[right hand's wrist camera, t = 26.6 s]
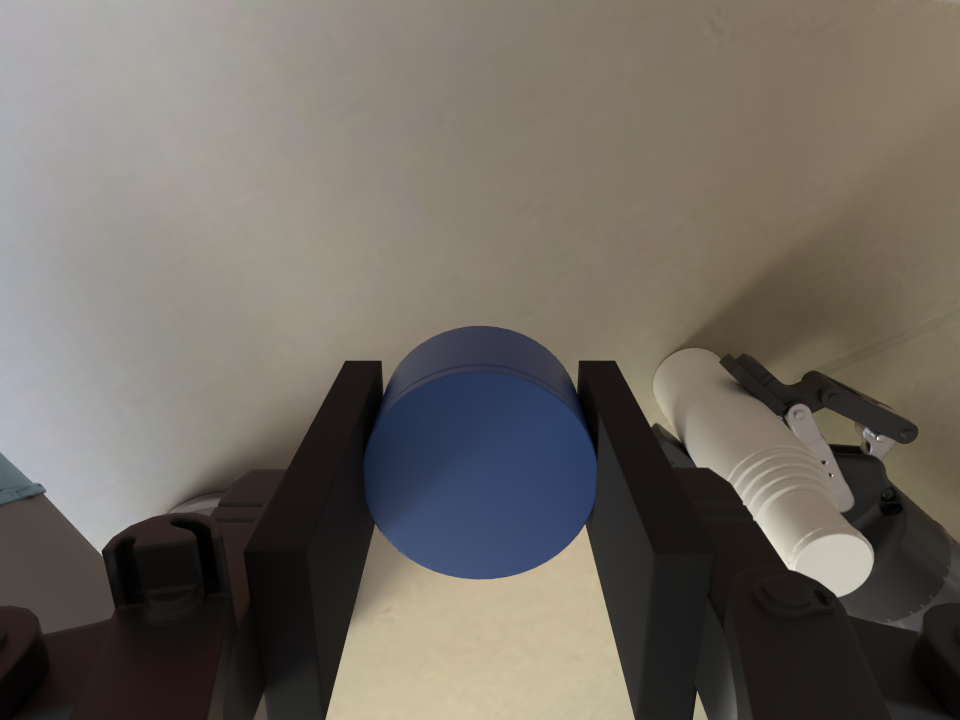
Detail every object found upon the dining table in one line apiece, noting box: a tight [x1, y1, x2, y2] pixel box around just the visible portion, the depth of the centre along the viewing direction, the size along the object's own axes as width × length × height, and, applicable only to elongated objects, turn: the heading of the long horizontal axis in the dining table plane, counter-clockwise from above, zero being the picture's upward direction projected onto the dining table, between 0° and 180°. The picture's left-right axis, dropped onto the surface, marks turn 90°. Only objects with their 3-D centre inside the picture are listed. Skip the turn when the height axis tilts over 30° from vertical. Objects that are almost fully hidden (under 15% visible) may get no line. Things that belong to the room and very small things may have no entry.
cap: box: [363, 326, 597, 579], centre depth 13 cm, size 4×4×3 cm
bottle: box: [653, 348, 874, 597], centre depth 34 cm, size 5×5×19 cm
